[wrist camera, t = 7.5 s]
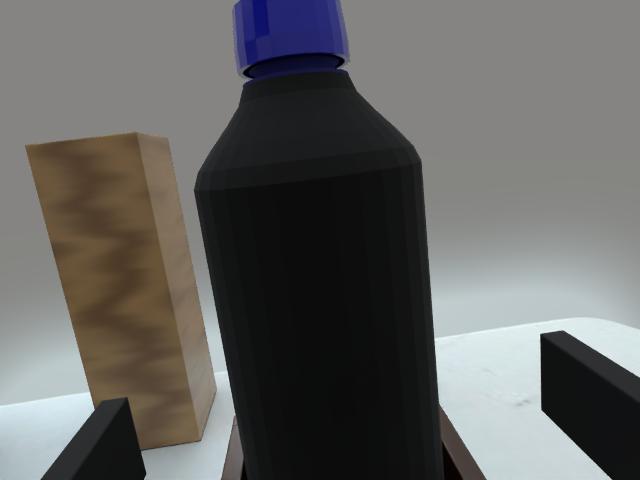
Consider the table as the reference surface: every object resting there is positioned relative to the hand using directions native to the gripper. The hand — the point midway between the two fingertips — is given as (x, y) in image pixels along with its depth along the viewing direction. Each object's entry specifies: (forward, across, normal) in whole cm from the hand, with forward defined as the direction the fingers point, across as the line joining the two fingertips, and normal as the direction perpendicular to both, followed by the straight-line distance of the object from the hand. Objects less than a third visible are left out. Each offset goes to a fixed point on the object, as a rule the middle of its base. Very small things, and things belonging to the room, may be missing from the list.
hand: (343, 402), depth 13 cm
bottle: (+5, 0, -15) cm, 16 cm away
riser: (+24, -15, -15) cm, 32 cm away
